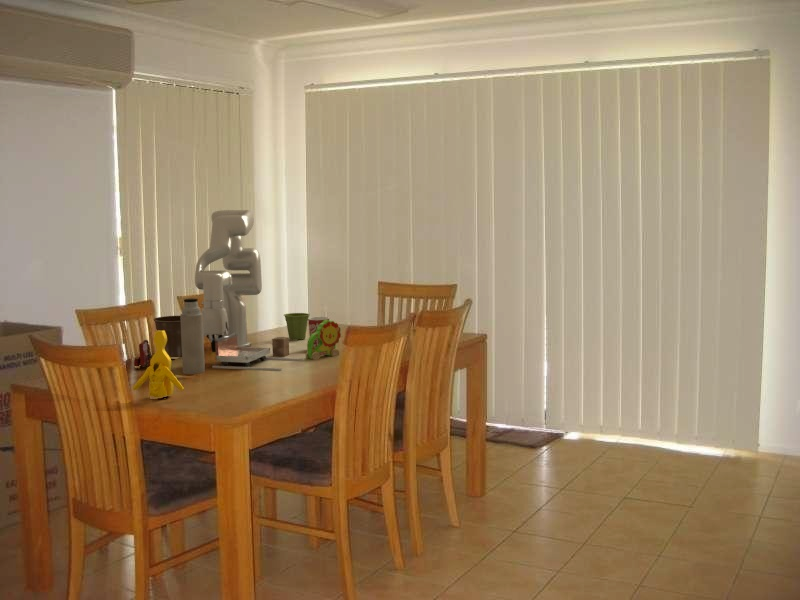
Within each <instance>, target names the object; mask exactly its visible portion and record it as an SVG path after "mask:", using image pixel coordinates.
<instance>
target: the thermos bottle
mask: <svg viewBox="0 0 800 600" xmlns="http://www.w3.org/2000/svg"><path fill="white" fill-rule="evenodd" d="M183 302H184V304H183V307H182V309H181V314H180V315H179V316H180V319H181V342H182V358H181V360H182V361H181V363H182V373H183V374H184V375H197V374H202V373H205V371H206V365H205V364H206V363H205V343H204V342H205V341H204V339H205V338H204V336H203V314H202V313H201V312H202V309H201V307H200V306H199V303H198V298H184V299H183Z"/></svg>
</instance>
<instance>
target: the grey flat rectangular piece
mask: <svg viewBox="0 0 800 600" xmlns="http://www.w3.org/2000/svg"><path fill="white" fill-rule="evenodd" d="M257 360H260V359H259V358H258V359H257ZM265 360H268V361H269V360H270V361H271V360H272V361H295V362H296V361H297V362H298V361H299V362H303V361H304V359H303V358H295V357H274V356H272V357H266V359H265ZM211 366H212V367H211V368H212V369H231V370H250V371H251V370H253V371H276V372H281V371H282V368H279V367H278V368H277V367H257V366H256V367H255V366H249V367H244V366H232V365H227V366H222V365H211Z"/></svg>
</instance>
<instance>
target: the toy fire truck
mask: <svg viewBox="0 0 800 600" xmlns="http://www.w3.org/2000/svg"><path fill="white" fill-rule="evenodd" d="M138 344H139V345H138V351H139V356H138V358H135V359H134V362H133V364H134V366H139V365H141V366H146V365H147V366H151V365H150V360H151V358H152V357H153V355H152V350H151V346H150V344H149V340H148V339H144V340H143V341H141V342H140V343H138ZM147 366H146V367H147Z"/></svg>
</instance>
